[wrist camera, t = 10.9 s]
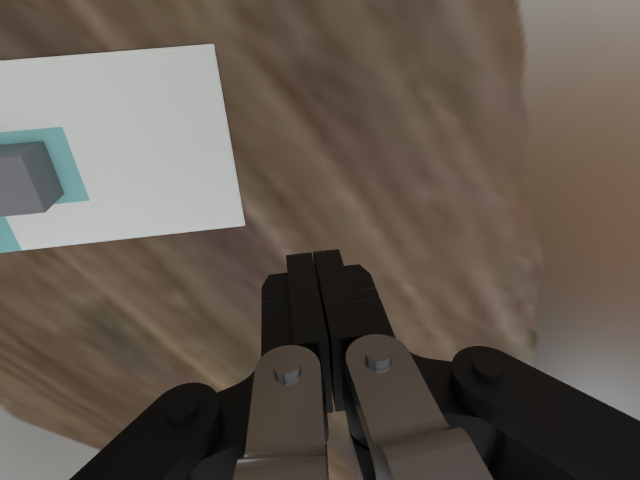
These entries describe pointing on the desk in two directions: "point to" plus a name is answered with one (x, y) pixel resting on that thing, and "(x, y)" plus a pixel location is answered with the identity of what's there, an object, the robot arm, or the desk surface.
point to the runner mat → (128, 142)
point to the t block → (27, 179)
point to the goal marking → (65, 167)
